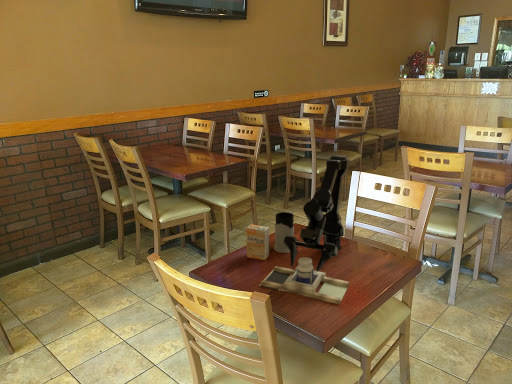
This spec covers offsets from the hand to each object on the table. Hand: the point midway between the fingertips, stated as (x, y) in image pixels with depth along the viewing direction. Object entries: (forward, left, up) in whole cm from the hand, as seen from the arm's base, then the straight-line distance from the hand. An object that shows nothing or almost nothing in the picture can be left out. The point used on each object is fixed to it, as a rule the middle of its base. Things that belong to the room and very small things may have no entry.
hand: (304, 268), depth 137 cm
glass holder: (-29, +17, -7) cm, 35 cm away
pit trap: (-10, -4, -7) cm, 13 cm away
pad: (+8, +5, -7) cm, 12 cm away
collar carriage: (0, +1, -7) cm, 7 cm away
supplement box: (-28, +1, -7) cm, 29 cm away
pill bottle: (0, +1, -7) cm, 7 cm away
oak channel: (0, +1, -7) cm, 7 cm away
